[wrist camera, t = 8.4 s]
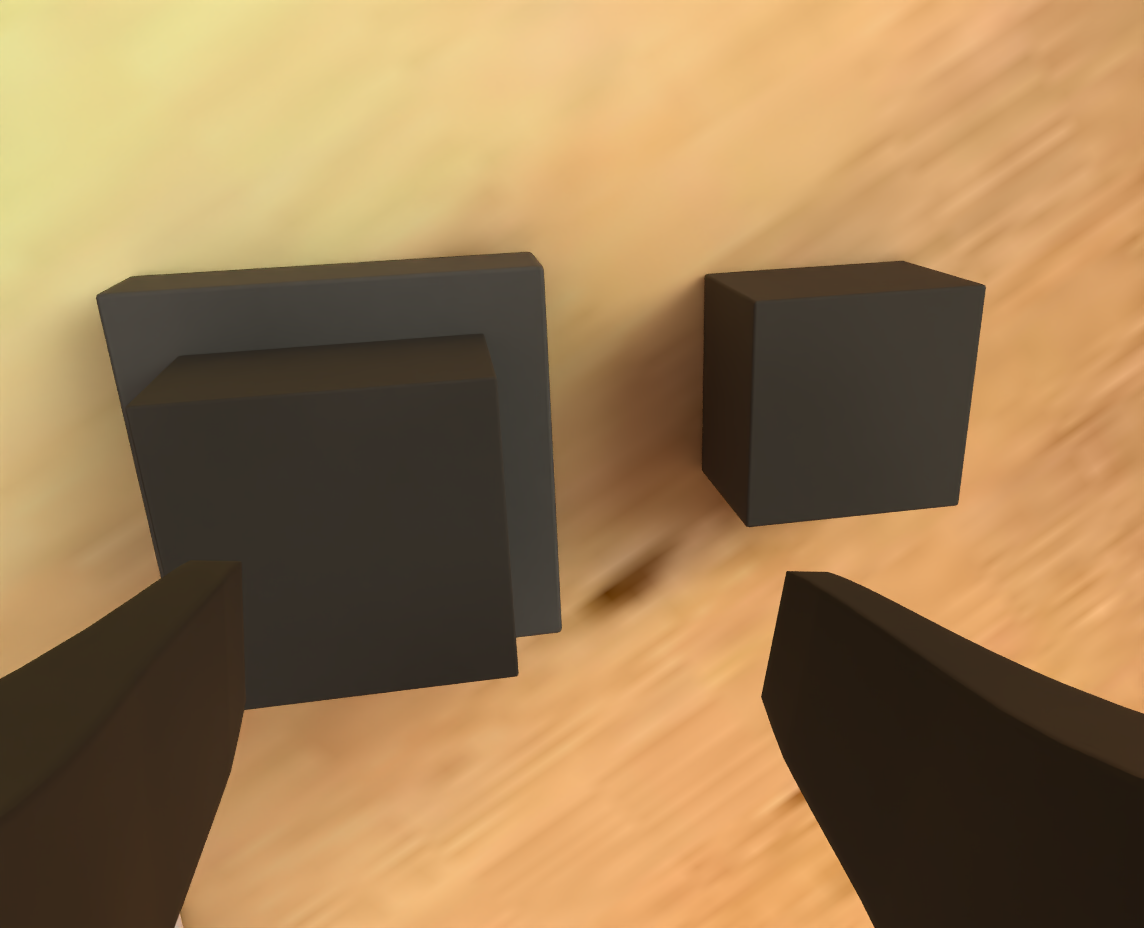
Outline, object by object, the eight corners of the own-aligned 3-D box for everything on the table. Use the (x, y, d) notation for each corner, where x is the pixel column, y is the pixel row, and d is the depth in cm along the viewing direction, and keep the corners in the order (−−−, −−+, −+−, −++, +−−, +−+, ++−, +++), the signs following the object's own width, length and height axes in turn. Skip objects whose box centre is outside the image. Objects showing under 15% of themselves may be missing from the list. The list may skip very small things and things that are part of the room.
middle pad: (503, 591, 19) (518, 677, 16) (231, 621, 18) (194, 717, 15) (484, 332, 17) (497, 377, 14) (177, 355, 16) (123, 407, 13)
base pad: (550, 590, 22) (562, 633, 20) (204, 628, 21) (182, 678, 19) (532, 251, 19) (544, 265, 17) (127, 276, 18) (93, 294, 16)
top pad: (886, 453, 22) (959, 506, 19) (701, 471, 21) (746, 528, 18) (904, 260, 20) (987, 284, 17) (703, 273, 19) (754, 301, 16)
